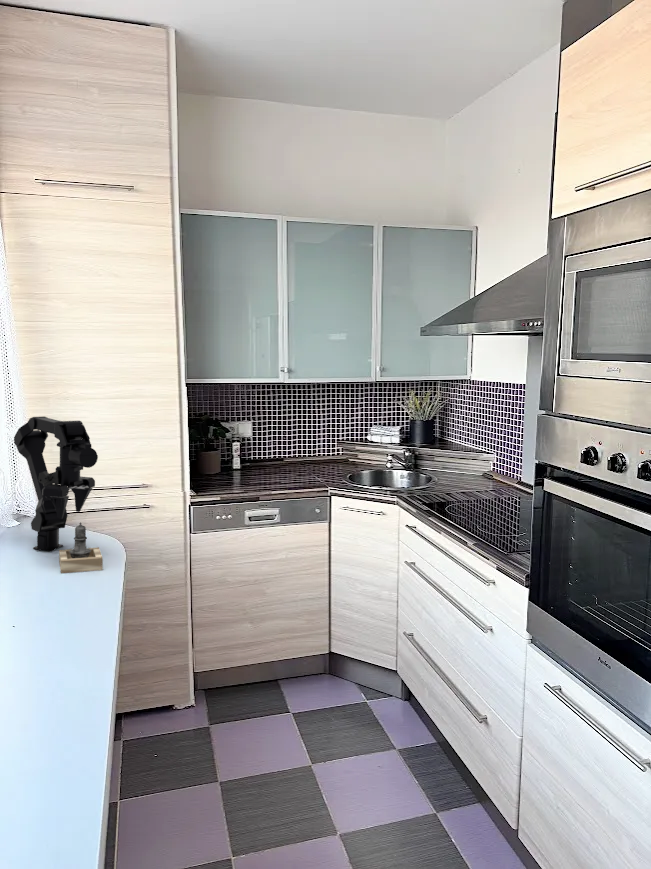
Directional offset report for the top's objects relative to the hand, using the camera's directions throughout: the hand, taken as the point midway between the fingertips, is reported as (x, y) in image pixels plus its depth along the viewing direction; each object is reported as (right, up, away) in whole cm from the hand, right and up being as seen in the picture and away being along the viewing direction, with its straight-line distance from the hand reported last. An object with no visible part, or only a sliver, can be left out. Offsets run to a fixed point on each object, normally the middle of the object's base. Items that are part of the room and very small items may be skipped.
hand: (69, 514), depth 196 cm
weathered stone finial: (+5, -13, -6) cm, 15 cm away
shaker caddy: (+5, -14, -6) cm, 16 cm away
